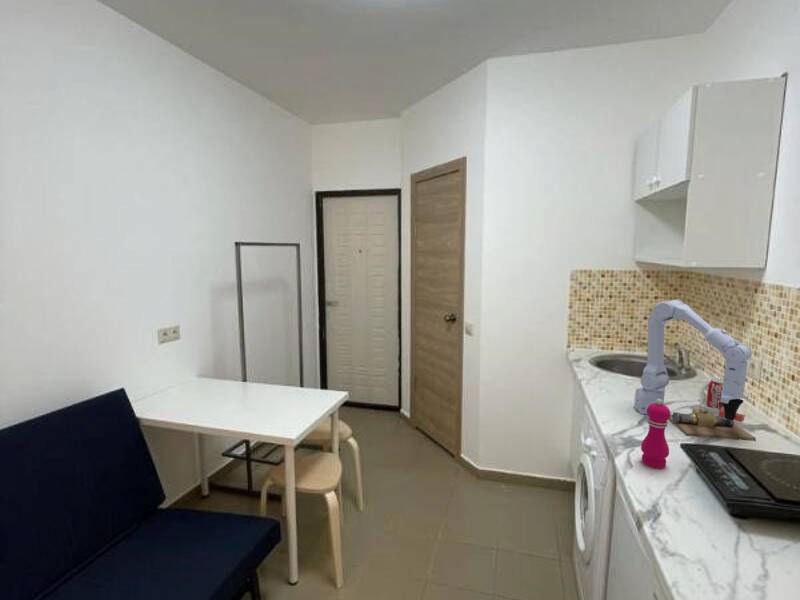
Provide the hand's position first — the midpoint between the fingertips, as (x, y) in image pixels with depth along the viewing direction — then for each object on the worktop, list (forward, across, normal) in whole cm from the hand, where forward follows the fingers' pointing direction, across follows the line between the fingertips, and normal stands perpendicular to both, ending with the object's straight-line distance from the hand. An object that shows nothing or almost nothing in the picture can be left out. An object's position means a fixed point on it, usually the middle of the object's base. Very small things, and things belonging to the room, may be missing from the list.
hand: (729, 419), depth 146 cm
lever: (0, +2, +3) cm, 4 cm away
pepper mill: (+6, -40, +6) cm, 41 cm away
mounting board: (+6, +2, +6) cm, 9 cm away
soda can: (+6, +24, +11) cm, 28 cm away
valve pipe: (+6, +2, +8) cm, 10 cm away
